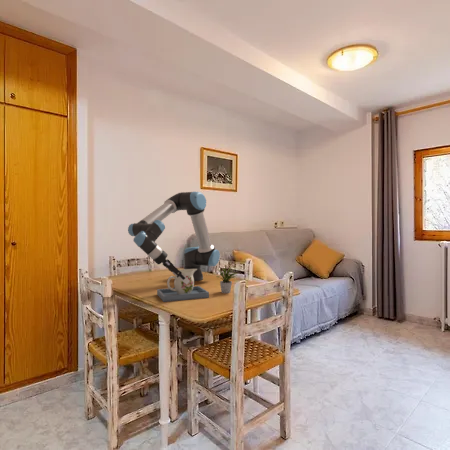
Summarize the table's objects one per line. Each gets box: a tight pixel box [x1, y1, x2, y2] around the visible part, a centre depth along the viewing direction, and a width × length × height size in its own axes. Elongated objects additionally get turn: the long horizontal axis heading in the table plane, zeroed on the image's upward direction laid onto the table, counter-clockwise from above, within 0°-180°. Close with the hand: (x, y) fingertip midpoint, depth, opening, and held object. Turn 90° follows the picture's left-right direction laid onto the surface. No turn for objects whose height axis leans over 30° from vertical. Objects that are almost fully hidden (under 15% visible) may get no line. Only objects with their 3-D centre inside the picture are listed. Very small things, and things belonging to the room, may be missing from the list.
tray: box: [156, 285, 210, 303], centre depth 182 cm, size 25×18×3 cm
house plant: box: [214, 266, 238, 294], centre depth 191 cm, size 14×14×16 cm
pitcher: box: [166, 269, 197, 295], centre depth 182 cm, size 11×18×14 cm, turn 122°
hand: (184, 280), depth 183 cm, fingers open, 13 cm apart
